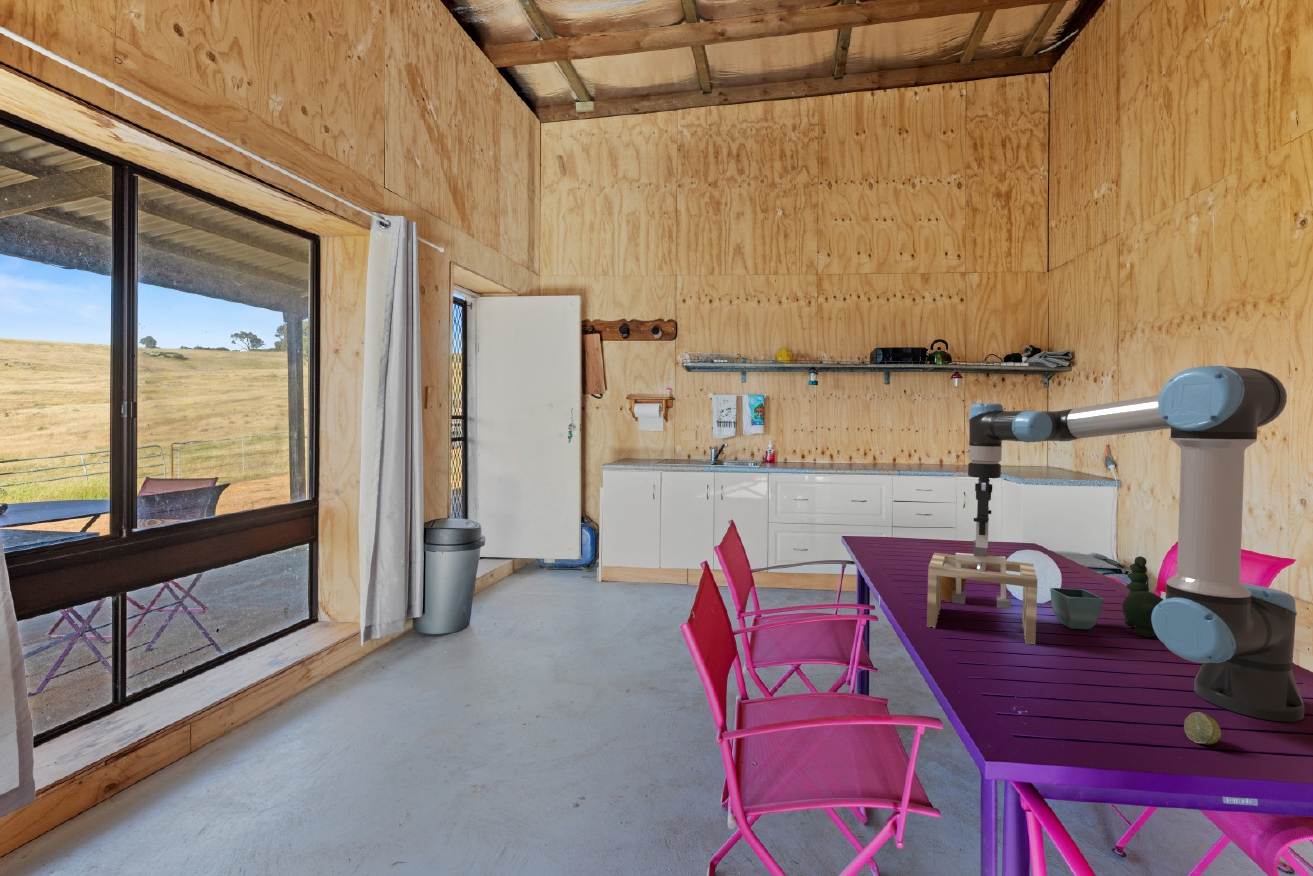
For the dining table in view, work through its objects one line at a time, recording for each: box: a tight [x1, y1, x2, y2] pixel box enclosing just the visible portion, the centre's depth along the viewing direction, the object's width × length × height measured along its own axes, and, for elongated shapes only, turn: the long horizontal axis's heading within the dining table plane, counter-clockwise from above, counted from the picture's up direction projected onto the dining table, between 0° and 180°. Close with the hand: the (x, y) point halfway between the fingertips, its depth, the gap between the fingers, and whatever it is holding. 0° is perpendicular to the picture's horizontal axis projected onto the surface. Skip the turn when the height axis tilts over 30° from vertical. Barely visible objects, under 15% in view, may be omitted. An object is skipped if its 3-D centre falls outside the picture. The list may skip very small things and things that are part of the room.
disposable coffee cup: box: [941, 563, 970, 603], centre depth 178 cm, size 10×10×12 cm
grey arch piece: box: [951, 539, 1011, 610], centre depth 156 cm, size 5×13×16 cm, turn 61°
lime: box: [1183, 711, 1222, 745], centre depth 101 cm, size 4×5×5 cm
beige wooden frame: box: [926, 552, 1039, 646], centre depth 157 cm, size 18×24×17 cm
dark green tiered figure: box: [1121, 555, 1164, 639], centre depth 154 cm, size 9×19×25 cm
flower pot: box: [1049, 587, 1104, 630], centre depth 156 cm, size 9×9×9 cm
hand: (982, 542), depth 156 cm, fingers open, 13 cm apart
